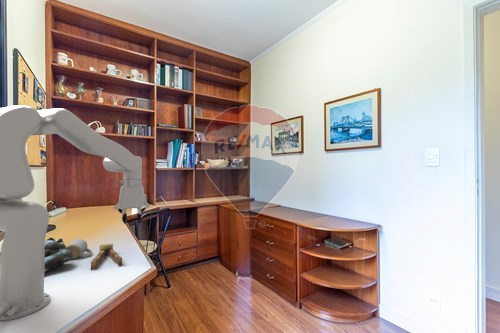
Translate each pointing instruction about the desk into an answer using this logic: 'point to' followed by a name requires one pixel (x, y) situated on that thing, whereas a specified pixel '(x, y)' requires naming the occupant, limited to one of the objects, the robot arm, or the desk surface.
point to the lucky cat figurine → (55, 253)
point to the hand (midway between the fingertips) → (131, 222)
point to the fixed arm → (98, 259)
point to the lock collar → (105, 246)
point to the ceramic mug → (78, 248)
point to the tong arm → (115, 257)
